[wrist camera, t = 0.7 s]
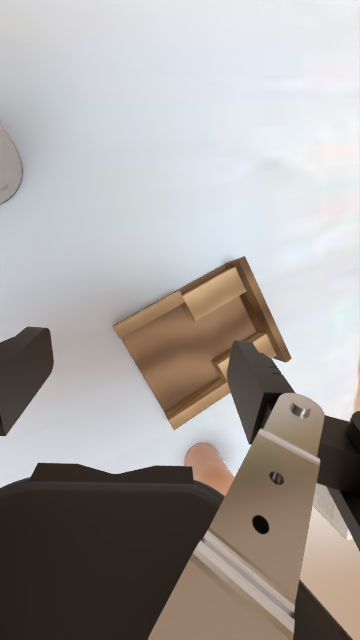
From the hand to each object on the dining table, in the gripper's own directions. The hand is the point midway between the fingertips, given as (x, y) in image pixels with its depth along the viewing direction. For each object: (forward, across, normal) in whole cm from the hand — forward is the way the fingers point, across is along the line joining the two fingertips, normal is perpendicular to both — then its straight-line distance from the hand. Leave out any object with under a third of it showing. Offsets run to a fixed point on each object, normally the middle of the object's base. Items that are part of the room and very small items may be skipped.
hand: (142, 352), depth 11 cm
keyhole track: (+21, -6, +10) cm, 24 cm away
